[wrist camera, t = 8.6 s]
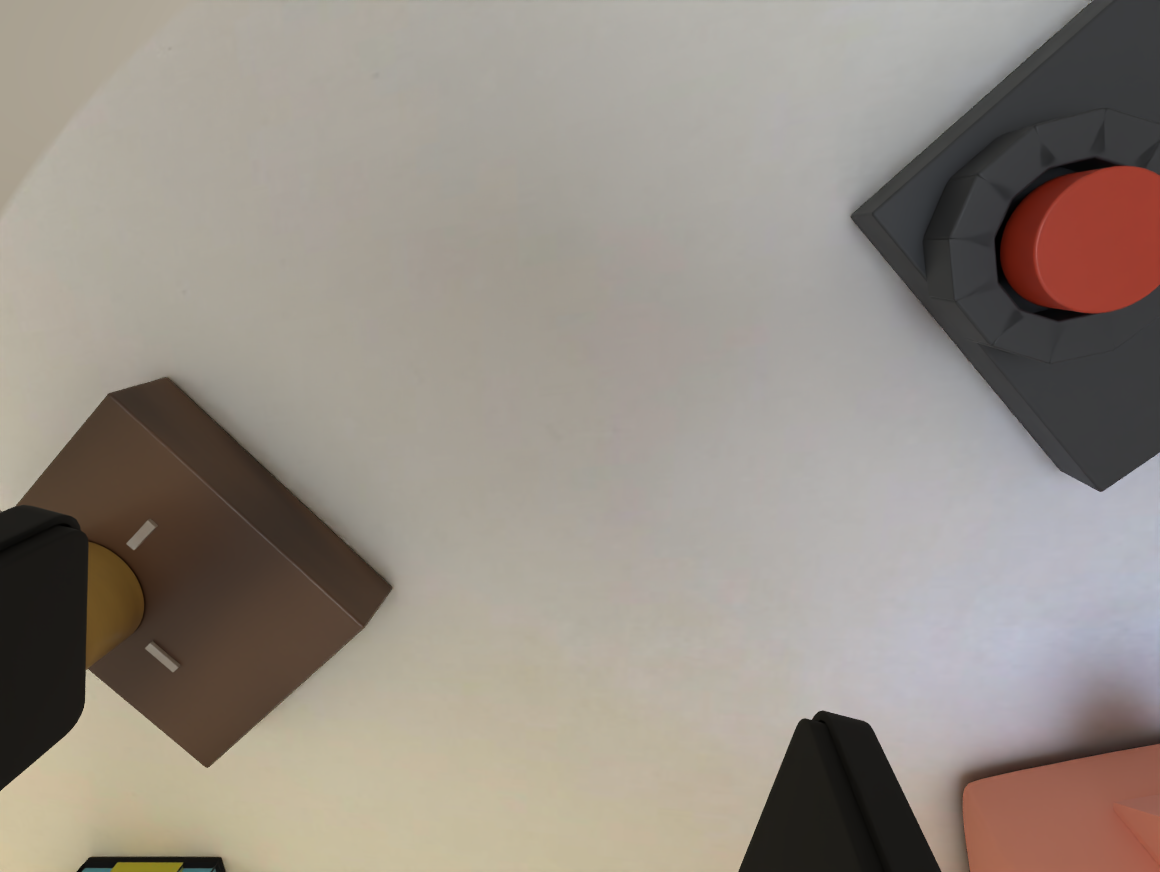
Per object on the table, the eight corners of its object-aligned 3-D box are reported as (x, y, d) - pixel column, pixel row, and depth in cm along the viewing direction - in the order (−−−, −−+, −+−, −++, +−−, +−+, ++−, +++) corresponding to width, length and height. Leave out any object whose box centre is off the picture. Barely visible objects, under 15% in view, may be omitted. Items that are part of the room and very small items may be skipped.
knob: (101, 664, 26) (-29, 765, 21) (11, 585, 25) (-146, 670, 20) (168, 600, 25) (48, 691, 20) (76, 516, 24) (-73, 587, 19)
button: (971, 239, 19) (1005, 239, 17) (1089, 142, 18) (1135, 132, 16) (1047, 333, 19) (1086, 342, 18) (1164, 244, 18) (1218, 244, 17)
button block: (842, 221, 22) (885, 217, 18) (1128, -31, 20) (1246, -98, 16) (1054, 476, 24) (1133, 520, 20) (1341, 274, 21) (1495, 279, 18)
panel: (10, 547, 29) (-64, 584, 25) (160, 370, 26) (97, 387, 23) (231, 734, 30) (185, 789, 27) (393, 587, 27) (363, 629, 24)
